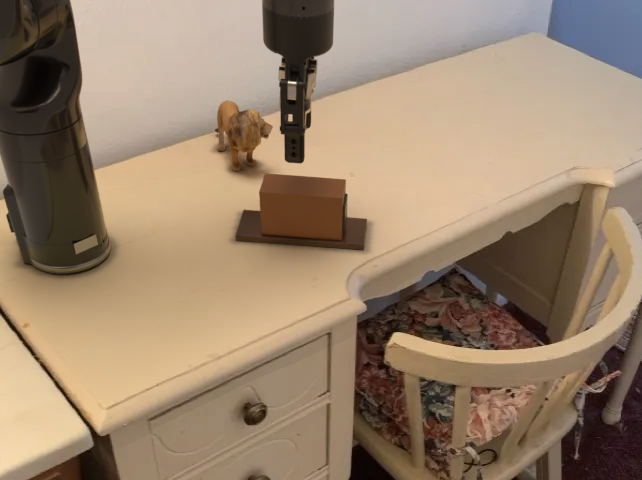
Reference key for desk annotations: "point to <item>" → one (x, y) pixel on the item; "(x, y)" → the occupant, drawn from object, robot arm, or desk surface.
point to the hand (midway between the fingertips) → (298, 143)
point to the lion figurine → (240, 131)
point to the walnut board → (350, 240)
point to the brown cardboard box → (303, 206)
